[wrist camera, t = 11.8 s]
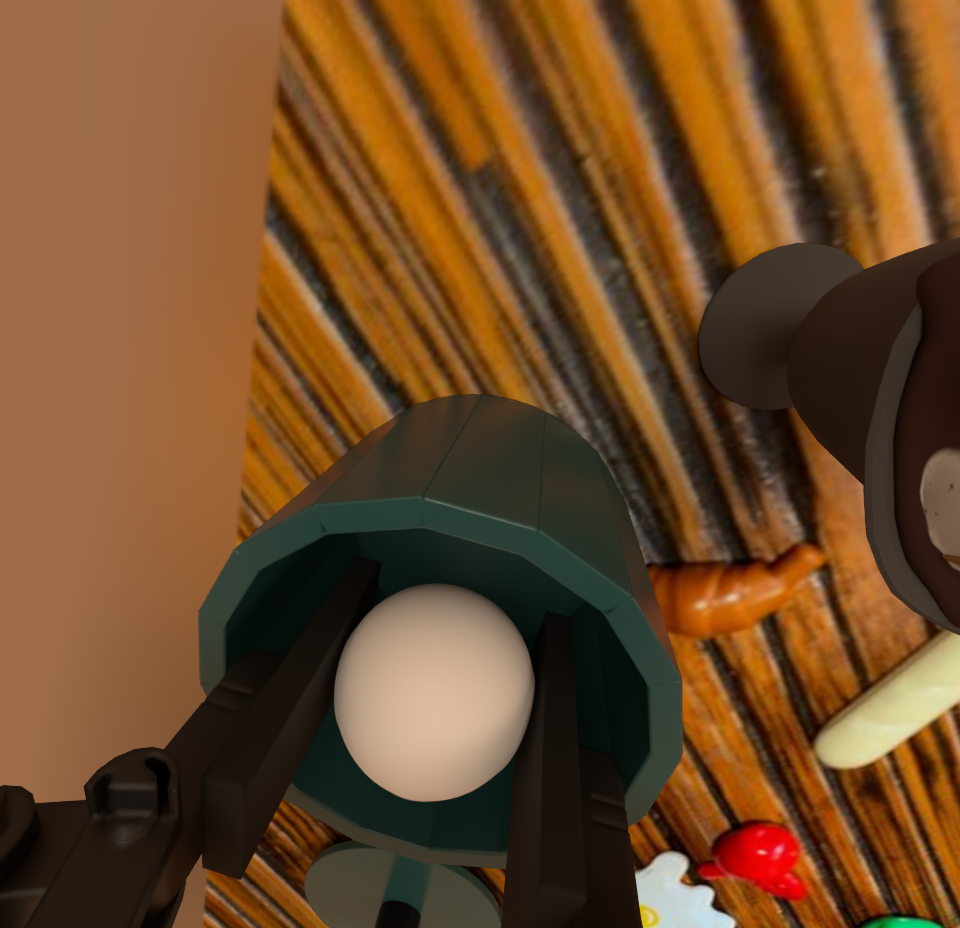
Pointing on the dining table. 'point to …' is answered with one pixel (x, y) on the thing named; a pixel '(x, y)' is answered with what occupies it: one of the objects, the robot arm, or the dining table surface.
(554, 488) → the pot
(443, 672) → the beige ball
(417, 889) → the lid
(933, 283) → the sundae
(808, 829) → the dining table surface
